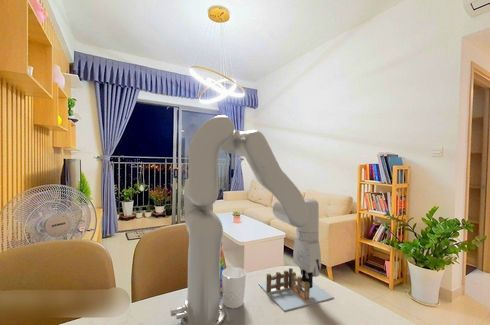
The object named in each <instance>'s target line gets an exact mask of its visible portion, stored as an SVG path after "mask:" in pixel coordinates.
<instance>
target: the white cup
mask: <svg viewBox="0 0 490 325" xmlns="http://www.w3.org/2000/svg"><path fill="white" fill-rule="evenodd" d="M246 274H247V272H246V270H245V269H244V268H241V267H237V266H236V267H227V268H224V270H223V271H222V292H221V293H222V304H223V305H224V306H225V307H226V308H228V309H238V308H240V307H242V306H243V305H244V300H245V299H244V297H245V292H246V290H245V289H246Z"/></svg>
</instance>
